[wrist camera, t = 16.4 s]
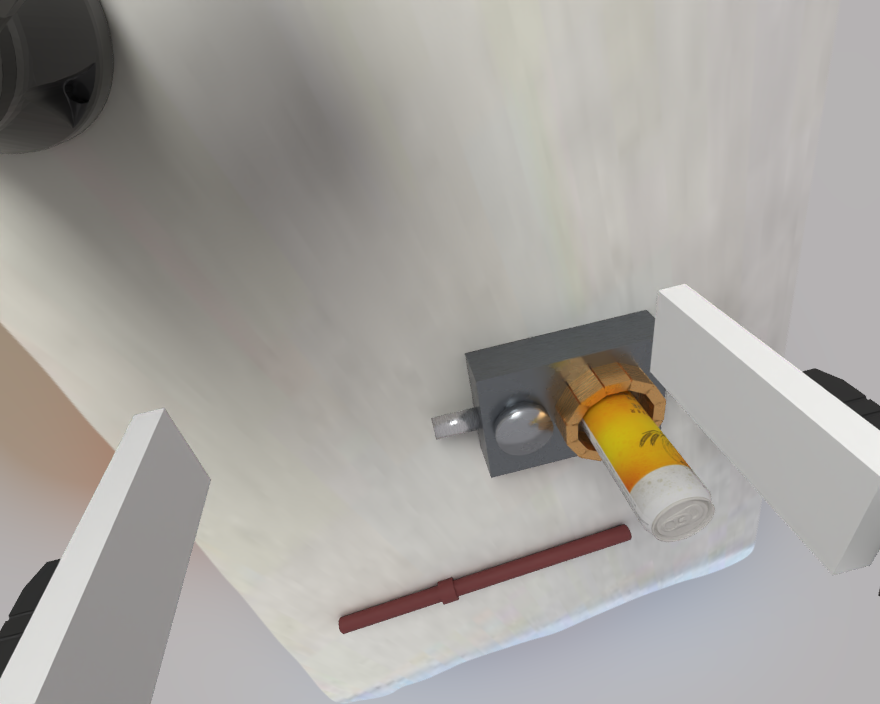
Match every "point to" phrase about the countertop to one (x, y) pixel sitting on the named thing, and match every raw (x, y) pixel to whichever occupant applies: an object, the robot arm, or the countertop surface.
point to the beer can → (647, 468)
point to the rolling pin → (484, 579)
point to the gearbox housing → (554, 391)
